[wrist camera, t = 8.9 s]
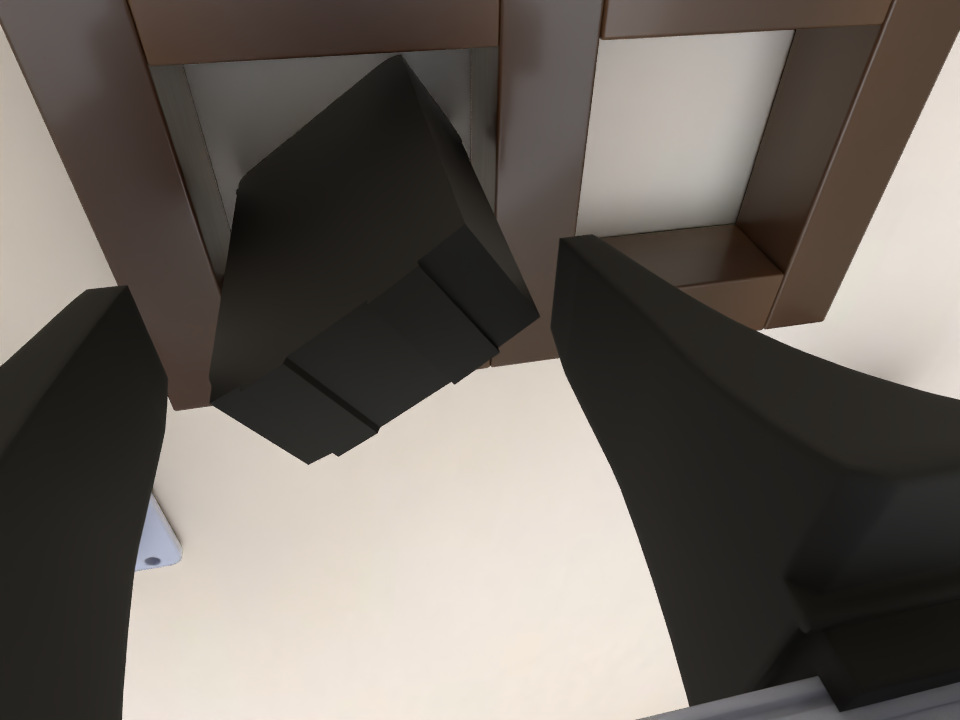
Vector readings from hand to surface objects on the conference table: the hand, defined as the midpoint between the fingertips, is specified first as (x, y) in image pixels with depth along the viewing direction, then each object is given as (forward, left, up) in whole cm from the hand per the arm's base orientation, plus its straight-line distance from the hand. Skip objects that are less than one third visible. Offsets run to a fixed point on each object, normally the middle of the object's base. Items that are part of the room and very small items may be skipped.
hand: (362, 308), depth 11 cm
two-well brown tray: (+4, 0, -6) cm, 7 cm away
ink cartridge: (0, 0, -6) cm, 6 cm away
